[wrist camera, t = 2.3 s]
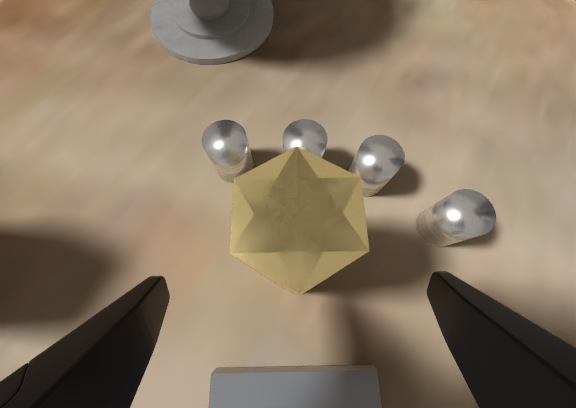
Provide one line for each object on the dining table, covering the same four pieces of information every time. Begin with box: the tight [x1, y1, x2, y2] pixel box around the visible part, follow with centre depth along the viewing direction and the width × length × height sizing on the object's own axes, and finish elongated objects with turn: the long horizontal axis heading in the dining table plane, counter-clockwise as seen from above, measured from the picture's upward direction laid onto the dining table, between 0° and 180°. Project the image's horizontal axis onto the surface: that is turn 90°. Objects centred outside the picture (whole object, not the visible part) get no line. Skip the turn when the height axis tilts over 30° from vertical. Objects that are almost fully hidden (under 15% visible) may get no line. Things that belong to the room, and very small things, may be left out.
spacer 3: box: [348, 135, 405, 197], centre depth 19 cm, size 3×3×4 cm
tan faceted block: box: [230, 146, 369, 295], centre depth 14 cm, size 4×5×11 cm
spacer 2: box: [283, 119, 327, 159], centre depth 20 cm, size 3×3×4 cm
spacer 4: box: [416, 189, 496, 247], centre depth 18 cm, size 3×3×4 cm
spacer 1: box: [202, 120, 254, 183], centre depth 20 cm, size 3×3×4 cm
